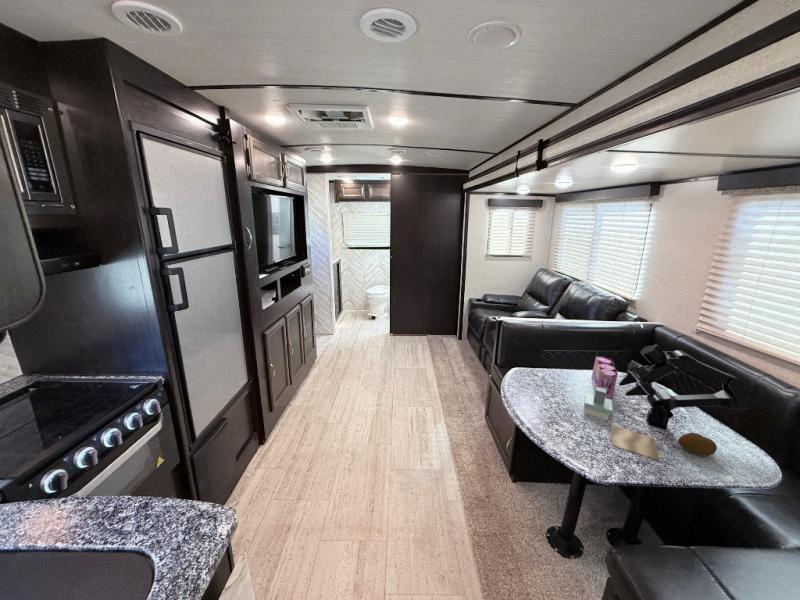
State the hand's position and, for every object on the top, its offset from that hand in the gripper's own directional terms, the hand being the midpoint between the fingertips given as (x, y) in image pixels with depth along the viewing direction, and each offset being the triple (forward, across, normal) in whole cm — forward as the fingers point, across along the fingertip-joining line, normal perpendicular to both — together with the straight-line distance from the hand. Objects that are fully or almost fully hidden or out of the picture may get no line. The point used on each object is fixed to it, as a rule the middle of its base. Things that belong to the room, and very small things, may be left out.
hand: (622, 389), depth 140 cm
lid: (+13, 0, +1) cm, 13 cm away
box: (+15, 0, +3) cm, 16 cm away
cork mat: (+9, +18, +10) cm, 23 cm away
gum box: (+10, -28, +9) cm, 31 cm away
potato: (-5, +16, +26) cm, 31 cm away
